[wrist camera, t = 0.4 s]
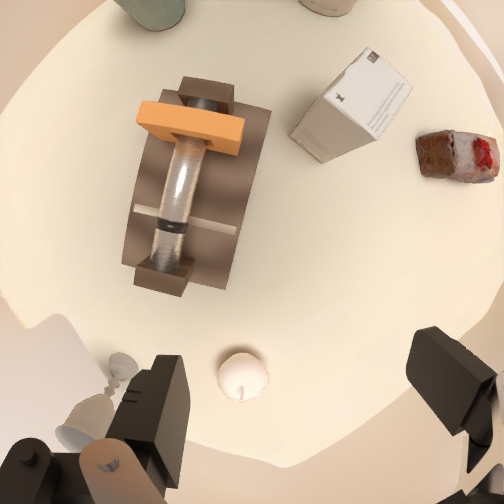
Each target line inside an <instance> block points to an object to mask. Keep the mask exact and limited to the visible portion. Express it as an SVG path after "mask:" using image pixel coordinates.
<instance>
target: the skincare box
mask: <svg viewBox="0 0 504 504" xmlns="http://www.w3.org/2000/svg"><path fill="white" fill-rule="evenodd" d="M412 88H413V87H412V86H411V85H410V84H409V82H408V81H407V80H405V79H404V78H403V77H402V76H401V75H400V74H399V73H398V72H397V71H396V70H395V69H394V68H393V67H392V66H390V65H389V64H388V63H387V62H386V61H385V60H384V59H382V58H381V57H380V56H379V55H377V54H376V53H375V52H374V51H373V50H371V49H370V48H369V47H367V48H366V49H365V50H364V51H363V52H362V53H361V54H360V55H359V56H358V57H357V58H356V59H355V60H354V61H353V62H352V63H351V64H350V65H349V66H348V67H347V68H346V69H345V70H344V71H343V72H342V73H341V74H340V75H339V76H338V77H337V78H336V79H335V80H334V81H333V82H332V83H331V84H330V85H329V86H328V88H327V89H326V90H325V91H324V92H323V93H322V94H321V95H320V97H319V98H318V99H317V100H316V101H315V102H314V104H313V105H312V106H311V108H310V109H309V110H308V111H307V113H306V114H305V116H304V117H303V118H302V120H301V121H300V122H299V124H298V125H297V126H296V128H295V129H294V130H293V131H292V132H291V134H290V135H289V136H290V137H291V138H292V139H293V140H295V141H296V142H297V143H298V144H300V145H301V146H302V147H303V148H305V149H306V150H307V151H308V152H309V153H310V154H312V155H313V156H314V157H315V158H316V159H318V160H319V161H320V162H321V163H325V162H327V161H329V160H332V159H334V158H336V157H339V156H341V155H343V154H345V153H347V152H350V151H352V150H354V149H357V148H359V147H361V146H364V145H366V144H368V143H371V142H373V141H377V140H378V139H379V137H380V136H381V135H382V133H383V132H384V130H385V129H386V128H387V126H388V125H389V123H390V122H391V121H392V119H393V118H394V116H395V115H396V113H397V112H398V110H399V109H400V107H401V106H402V104H403V103H404V101H405V100H406V98H407V97H408V95H409V93H410V92H411V90H412Z"/></svg>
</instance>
